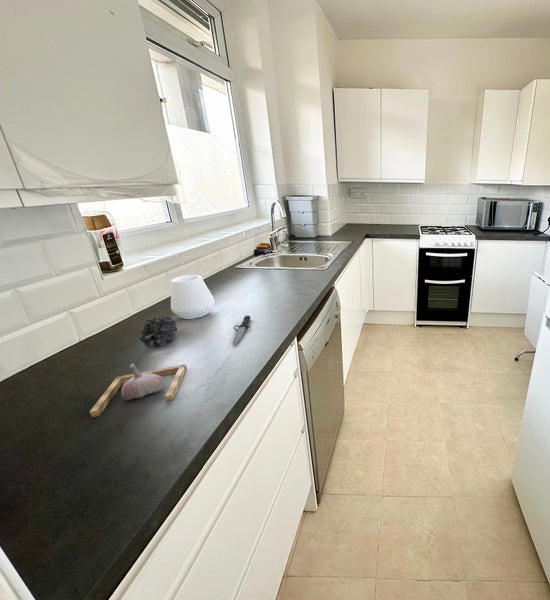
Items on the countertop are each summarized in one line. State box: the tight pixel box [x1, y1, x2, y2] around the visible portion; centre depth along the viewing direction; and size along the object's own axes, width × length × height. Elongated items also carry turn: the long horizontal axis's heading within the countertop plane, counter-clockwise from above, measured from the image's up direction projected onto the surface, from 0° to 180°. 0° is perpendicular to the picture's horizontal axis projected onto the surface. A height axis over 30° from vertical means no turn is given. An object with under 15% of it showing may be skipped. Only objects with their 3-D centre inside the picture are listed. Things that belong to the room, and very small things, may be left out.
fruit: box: [139, 315, 178, 348], centre depth 95 cm, size 9×8×15 cm
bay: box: [89, 364, 188, 418], centre depth 73 cm, size 13×14×2 cm
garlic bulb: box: [121, 363, 165, 401], centre depth 70 cm, size 8×7×8 cm
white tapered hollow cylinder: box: [170, 274, 215, 319], centre depth 111 cm, size 13×13×14 cm
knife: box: [231, 315, 252, 346], centre depth 100 cm, size 19×2×5 cm
